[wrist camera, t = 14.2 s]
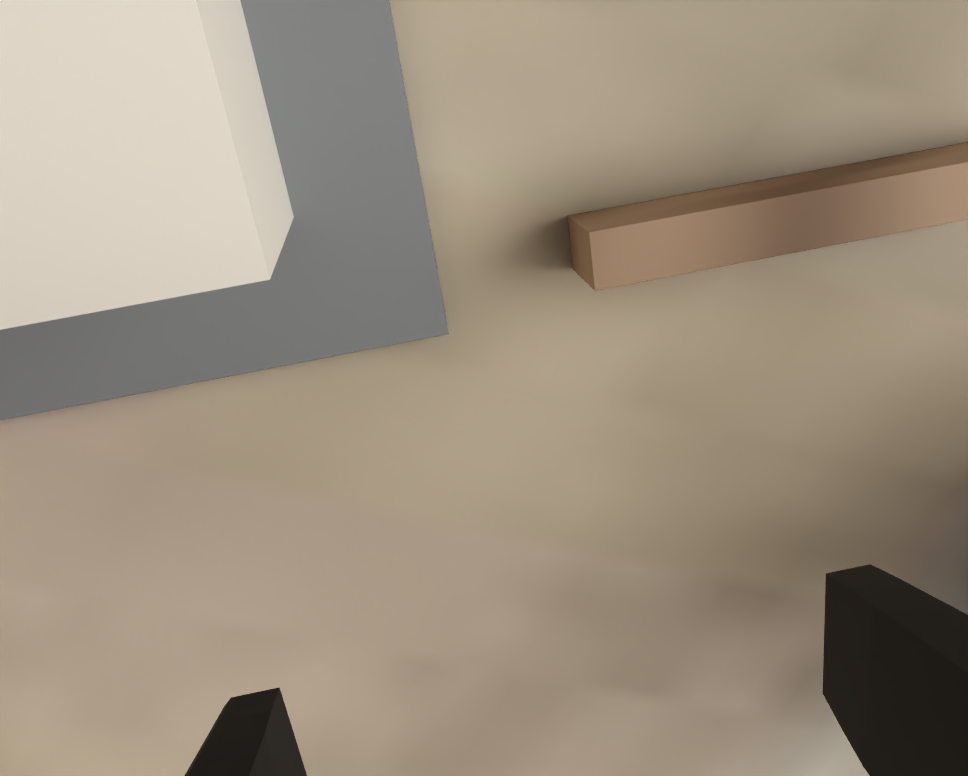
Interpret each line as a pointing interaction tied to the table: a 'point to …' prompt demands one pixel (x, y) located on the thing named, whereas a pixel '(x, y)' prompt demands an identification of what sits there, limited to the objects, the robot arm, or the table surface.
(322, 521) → the table surface
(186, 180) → the white block
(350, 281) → the slate mat
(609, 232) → the walnut channel
